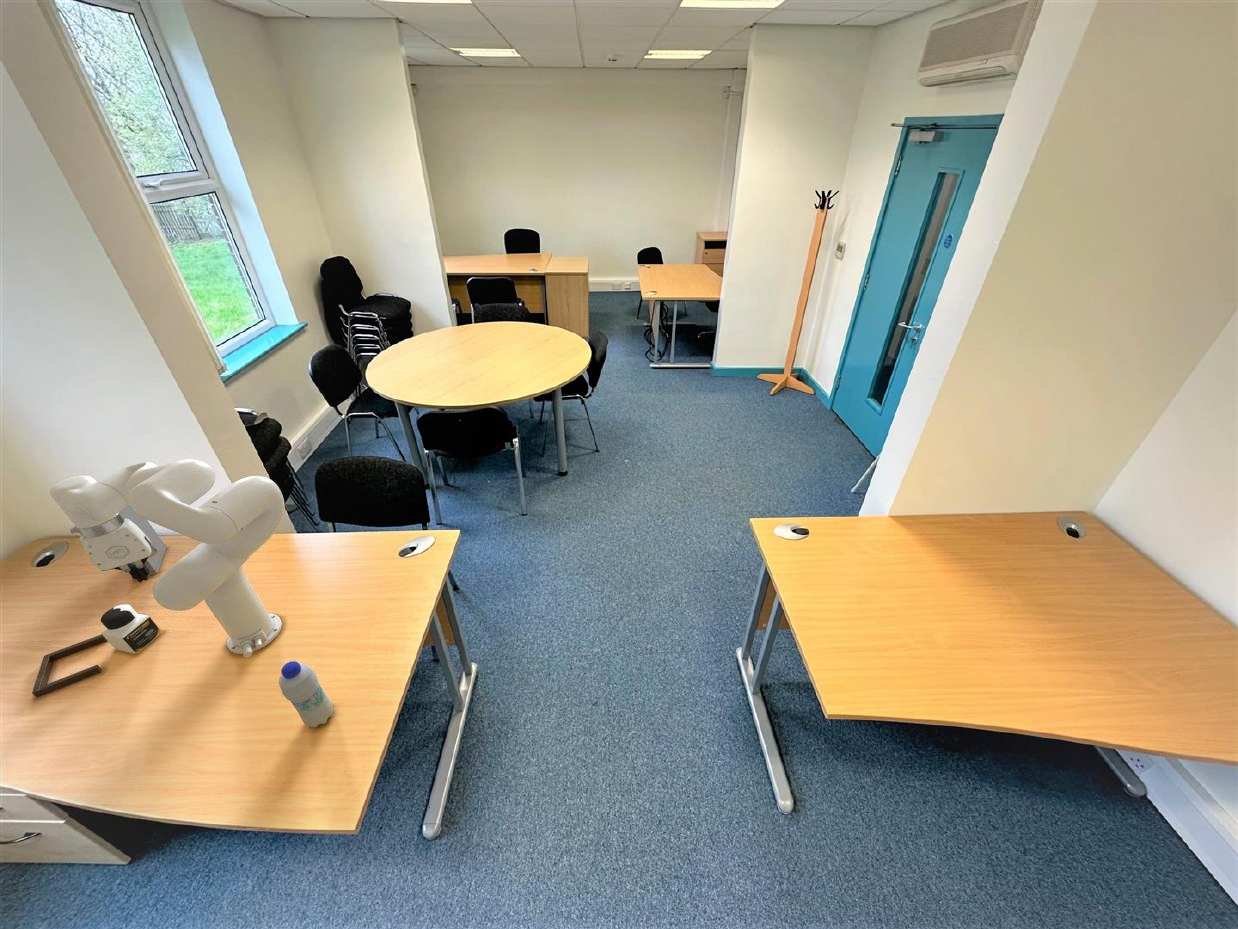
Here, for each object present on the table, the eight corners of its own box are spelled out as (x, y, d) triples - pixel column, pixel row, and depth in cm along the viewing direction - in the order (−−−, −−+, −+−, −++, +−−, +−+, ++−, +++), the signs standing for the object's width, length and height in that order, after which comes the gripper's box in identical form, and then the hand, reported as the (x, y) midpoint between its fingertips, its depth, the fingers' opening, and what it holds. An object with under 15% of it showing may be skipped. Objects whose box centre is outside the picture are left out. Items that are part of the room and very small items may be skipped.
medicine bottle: (137, 654, 128) (110, 625, 121) (115, 650, 129) (88, 620, 122) (163, 632, 134) (139, 603, 127) (142, 628, 135) (117, 599, 128)
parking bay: (101, 672, 123) (96, 667, 122) (37, 698, 118) (31, 693, 117) (108, 637, 132) (104, 633, 131) (48, 660, 126) (43, 655, 125)
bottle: (328, 697, 118) (298, 647, 107) (341, 714, 114) (311, 664, 103) (299, 718, 113) (264, 668, 102) (312, 737, 110) (277, 687, 99)
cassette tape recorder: (144, 553, 160) (98, 493, 146) (167, 547, 162) (124, 487, 148) (133, 581, 149) (83, 519, 136) (157, 574, 152) (111, 512, 138)
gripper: (55, 545, 109) (103, 600, 119) (141, 520, 116) (179, 574, 126) (62, 527, 114) (108, 581, 124) (143, 504, 121) (180, 557, 131)
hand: (144, 577), depth 125 cm, fingers closed
